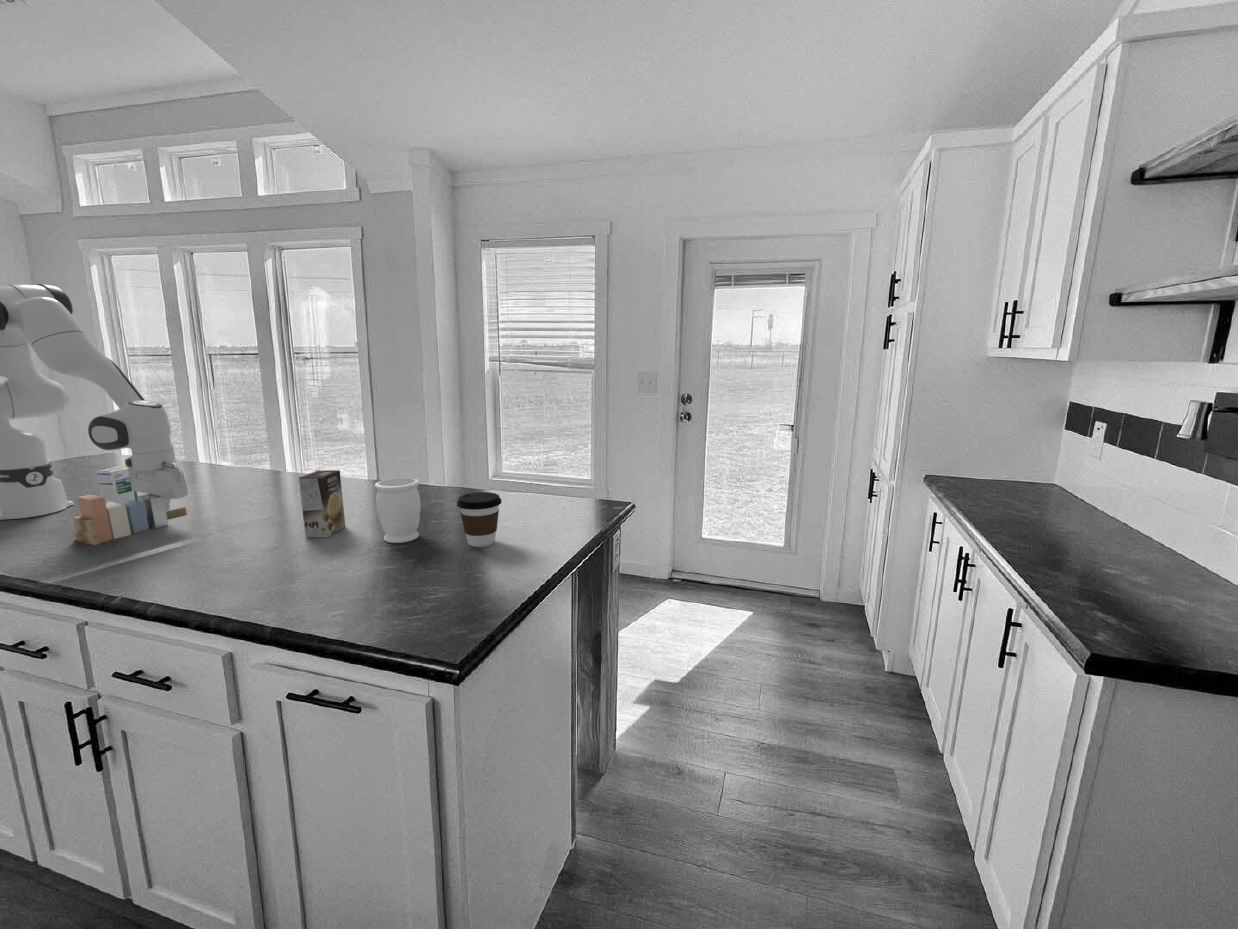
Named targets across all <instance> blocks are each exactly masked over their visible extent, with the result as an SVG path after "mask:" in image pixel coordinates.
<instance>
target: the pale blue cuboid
mask: <svg viewBox="0 0 1238 929" xmlns="http://www.w3.org/2000/svg"><path fill="white" fill-rule="evenodd" d="M118 504H123V505H126V511H127V516H128V521H129V526H130V531H131V534H132V533H133V534H136V533H139V532H143V531H148V530H150V527H149V526H148V520H147V515H146V510H145V504H144V502H140V501H136V500H131V501H126V502H122V503H118Z"/></svg>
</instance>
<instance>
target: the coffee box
mask: <svg viewBox="0 0 1238 929" xmlns="http://www.w3.org/2000/svg"><path fill="white" fill-rule="evenodd" d="M341 478H342V477H341V470H339V469H337V470H334V469H333V470H329V469H327V470H326V469H324V470H316V471H314V472H310V473H308V474H305V475H302V476H300V477H298V484H299V493H300V500H301V502H300V503H301V509H302V517H303V518H302V519H303V527H304V536H305V538H325V539H326V538H329V537H332V536H333V535H335V534H336V533H338V532H339V531H341V530H342V529H345V528H346V518H345V507H344V501H343V500H344V498H343V489H342V488H343V486H342V479H341Z"/></svg>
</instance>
